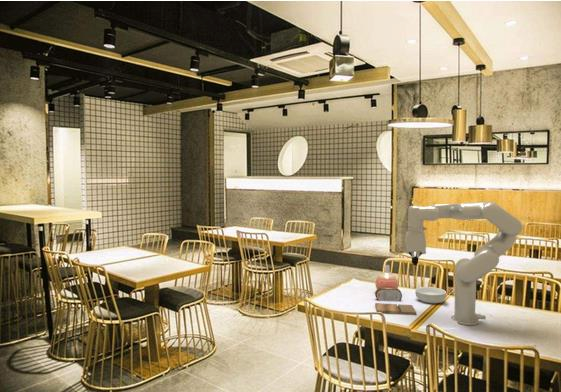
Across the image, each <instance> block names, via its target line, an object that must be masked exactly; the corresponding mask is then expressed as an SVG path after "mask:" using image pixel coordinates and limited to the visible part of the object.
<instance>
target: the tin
mask: <svg viewBox="0 0 561 392" xmlns="http://www.w3.org/2000/svg"><path fill="white" fill-rule="evenodd" d="M374 295H375V298H376V299H377V301H384V302H385V301H387V302H388V301H389V302H391V301H392V302H401V300H402V298H403V294H402V292H401V290H400V289H399V287H398V288H388V287H380V288H378V289H377V288H376V291H375V292H374Z"/></svg>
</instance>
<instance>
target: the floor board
mask: <svg viewBox="0 0 561 392" xmlns="http://www.w3.org/2000/svg"><path fill="white" fill-rule="evenodd" d="M397 306H398V308H399V311H400V314H399V315H405V316H407V315H408V316H417V311H416V309H415V308H414V306H413V305H412V304H400V303H399V304H397Z"/></svg>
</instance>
